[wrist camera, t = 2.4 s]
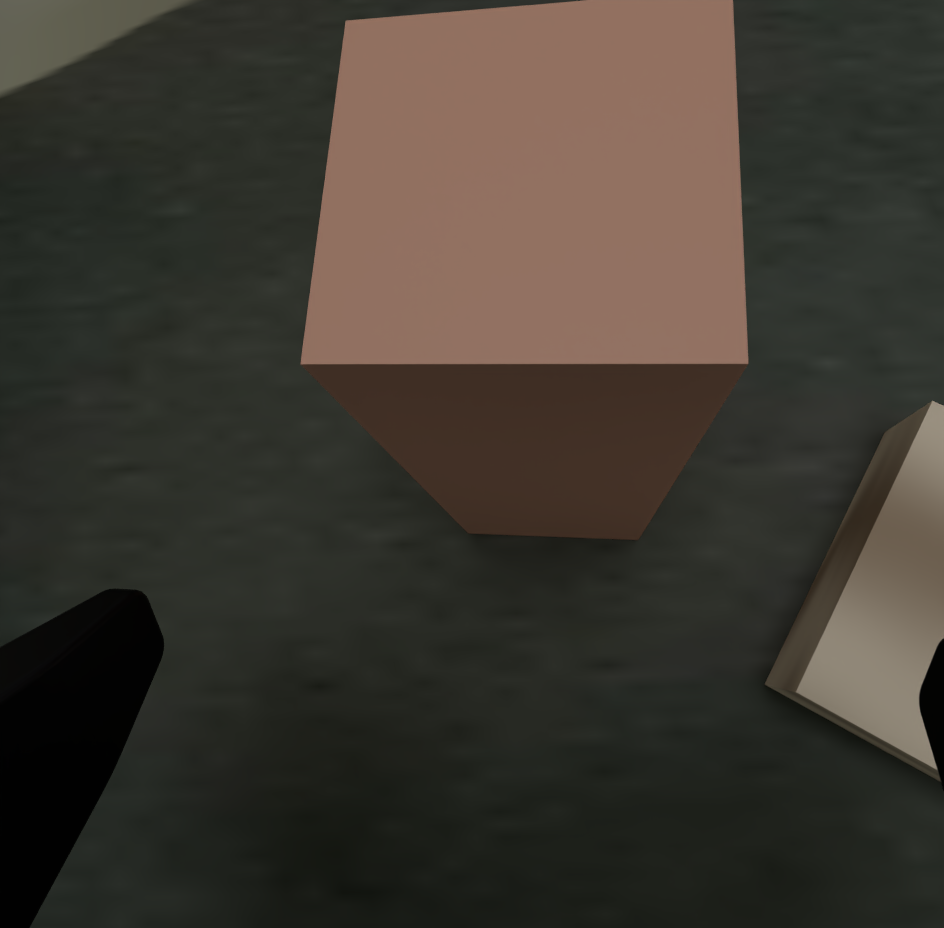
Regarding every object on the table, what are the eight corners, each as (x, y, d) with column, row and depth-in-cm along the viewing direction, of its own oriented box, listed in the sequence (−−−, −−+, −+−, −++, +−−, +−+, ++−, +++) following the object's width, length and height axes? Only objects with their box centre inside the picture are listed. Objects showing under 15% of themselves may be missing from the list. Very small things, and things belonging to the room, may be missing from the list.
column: (638, 540, 20) (747, 363, 7) (468, 533, 20) (300, 364, 8) (638, 378, 21) (731, -12, 8) (477, 378, 22) (345, 20, 9)
